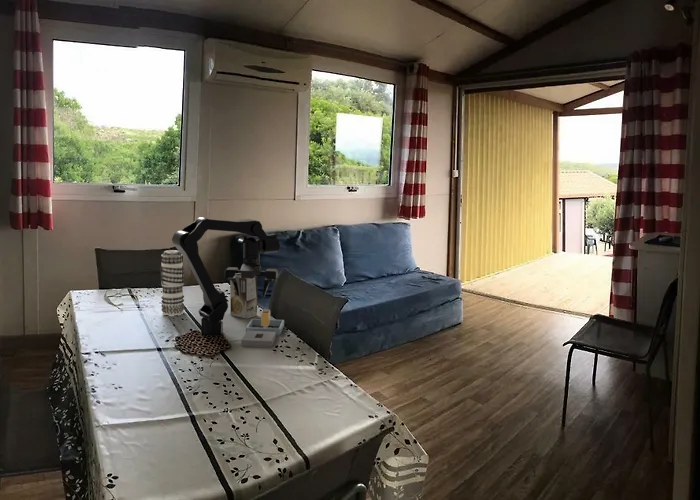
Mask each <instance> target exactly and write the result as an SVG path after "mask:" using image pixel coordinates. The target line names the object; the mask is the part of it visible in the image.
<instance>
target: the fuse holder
mask: <svg viewBox="0 0 700 500" xmlns="http://www.w3.org/2000/svg"><path fill="white" fill-rule="evenodd" d="M276 338H277V335H276V332H269V331H247V332H246V331H245V334H244V335H243V337H242V338H241V339H240V346H241V347H253V348H254V347H256V348H257V347H259V348H272V347H273V345H274V343H275V340H276Z"/></svg>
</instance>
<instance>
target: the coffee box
mask: <svg viewBox="0 0 700 500" xmlns="http://www.w3.org/2000/svg"><path fill="white" fill-rule="evenodd" d="M239 284H240V296H238V295H237V292H236V289H235V286H234V284H233V282H232V281H231V280H229V290H230V291H229V292H230V295H229V296H230V300H229V301H230V315H231V316H234V317H238V318H243V319H246V320H247V319H250V318H253V317H257V316H258V276H255V278H253V279H250V278H241V275H239Z"/></svg>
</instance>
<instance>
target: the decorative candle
mask: <svg viewBox="0 0 700 500" xmlns="http://www.w3.org/2000/svg"><path fill="white" fill-rule="evenodd" d="M183 263H184V262H183V255H182V254H181V253H180V252H179V251H178V249H177V250H174V249H170V250H165V251H163V253H162V254H161V265H160V268H159V271H160V281H161V282H160V284H161V287H162V291H161V293H162V294H161V297H160V298H161V301H160V302H161V303H162V304H161V305H160V306H161V315H162V314H164V315H169V316H168V317H175V316H174V315H178V316H182V315H183V313H184V314H185V304H184V302H185V299H184V298H185V295H184V291H183V286H184V285H185V284H184V283H185V281H184V279H185V276H183V275H184V274H185V272H184V271H185V268H184V267H183ZM181 314H182V315H181ZM164 315H163V316H164Z"/></svg>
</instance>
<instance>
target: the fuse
mask: <svg viewBox="0 0 700 500" xmlns="http://www.w3.org/2000/svg"><path fill="white" fill-rule="evenodd" d="M260 313H261V314H260V315H261V316H260V319H261V327H263V328H269V327H270V326H269V324H270V320H271V310H270V309H267V308H264V309H262V311H261V312H260Z"/></svg>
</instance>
